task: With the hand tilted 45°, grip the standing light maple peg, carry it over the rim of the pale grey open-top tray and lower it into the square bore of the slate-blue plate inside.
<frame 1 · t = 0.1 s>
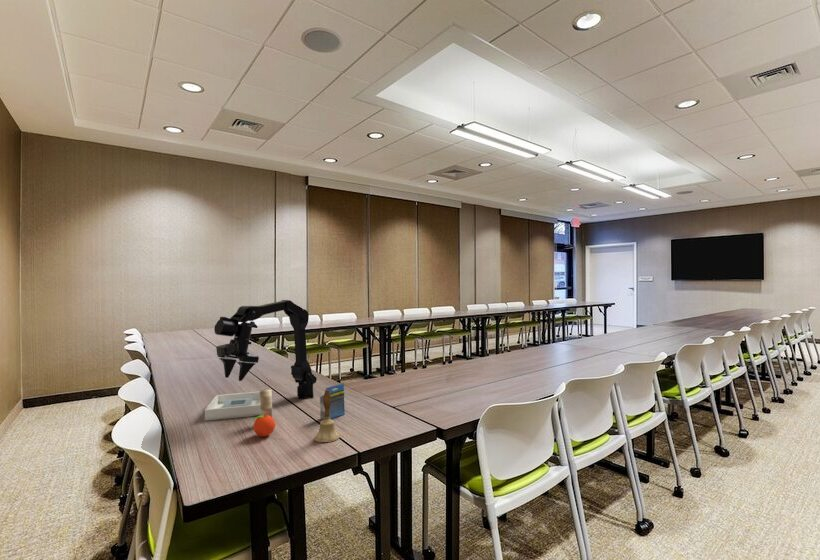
hand: (233, 379, 149), 15 cm above the table, tool pointing down, fingers open, 9 cm apart
label tape cartridge: (332, 417, 151), on the table
tray: (237, 409, 161), on the table
peg: (266, 423, 145), on the table
hand bell: (327, 438, 131), on the table
clementine: (262, 436, 133), on the table
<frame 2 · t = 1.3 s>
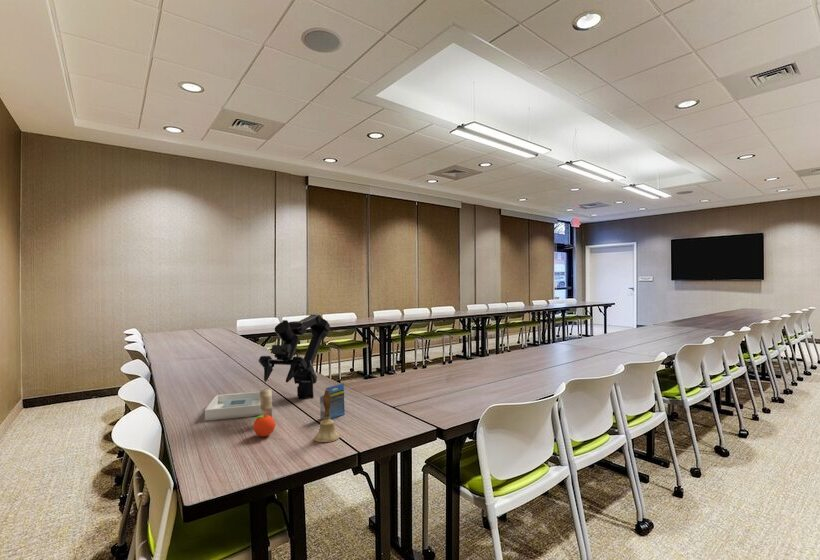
hand: (275, 381, 153), 13 cm above the table, tool tilted 45°, fingers open, 9 cm apart
nothing on the table moved.
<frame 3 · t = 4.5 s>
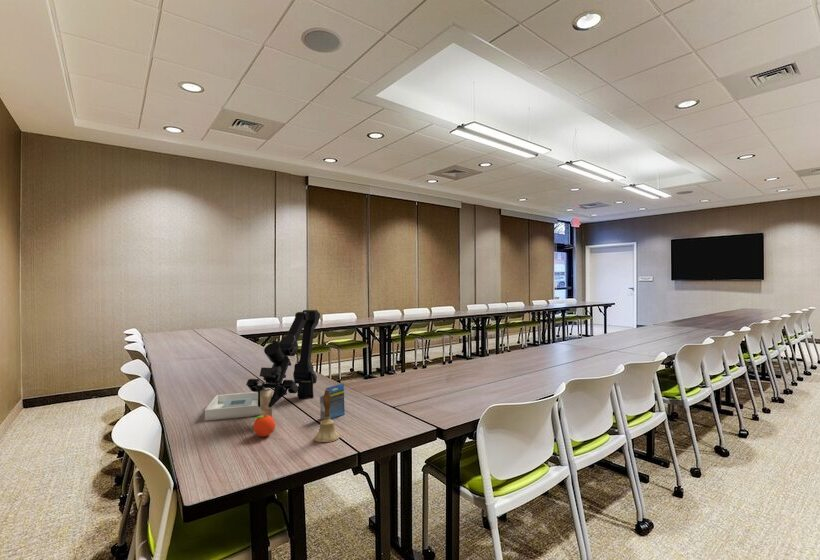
hand: (264, 406, 144), 7 cm above the table, tool tilted 45°, fingers closed on peg, 4 cm apart
peg: (266, 423, 145), on the table, touching gripper
everything else where it was.
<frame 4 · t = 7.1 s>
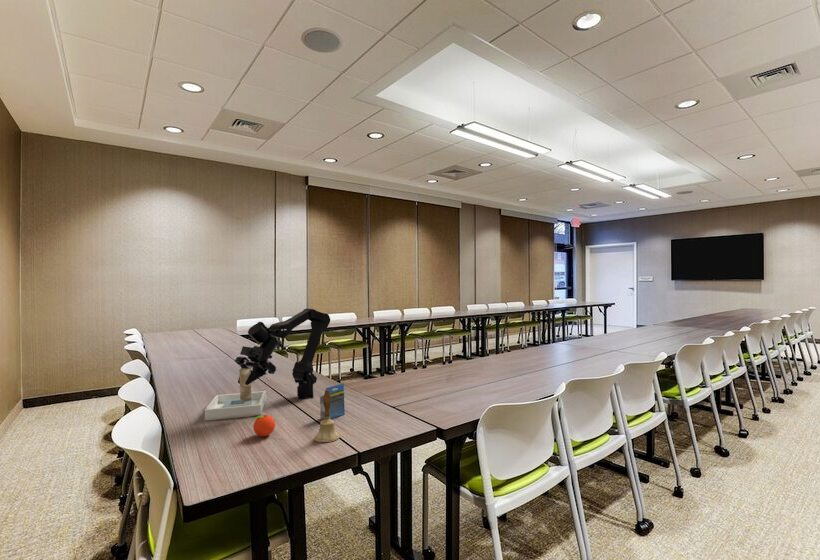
hand: (242, 383, 150), 13 cm above the table, tool tilted 45°, fingers closed on peg, 4 cm apart
peg: (245, 400, 151), point 7 cm above the table, touching gripper
everything else where it was.
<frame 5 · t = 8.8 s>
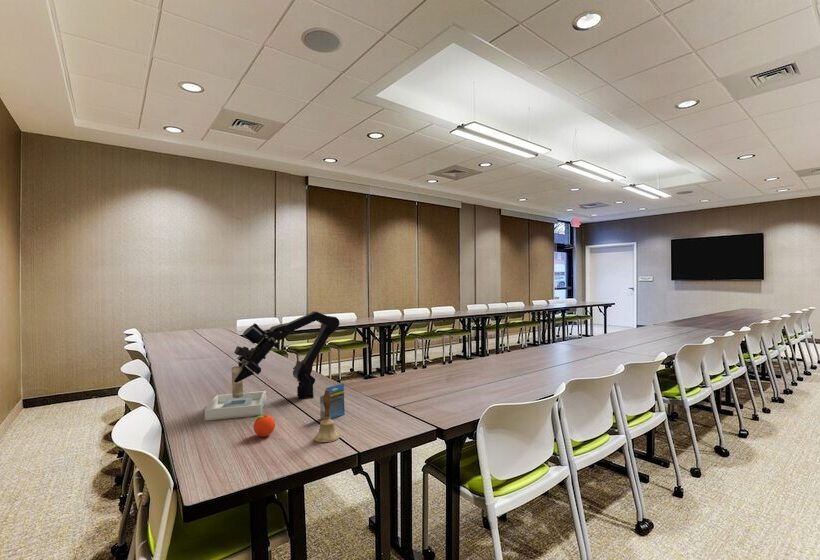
hand: (233, 381, 160), 12 cm above the table, tool tilted 45°, fingers closed on peg, 4 cm apart
peg: (237, 396, 161), point 5 cm above the table, touching gripper
everything else where it was.
when the fingers open (8 cm above the table, at t = 9.9 s): peg stays where it is, resting on tray.
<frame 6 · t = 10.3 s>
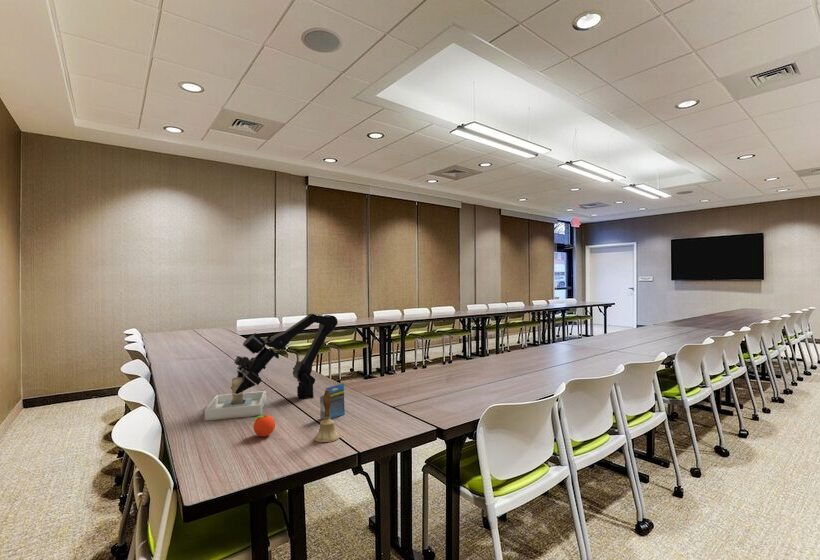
hand: (233, 391, 160), 8 cm above the table, tool tilted 45°, fingers open, 8 cm apart
peg: (237, 407, 161), point 1 cm above the table, touching tray
everything else where it was.
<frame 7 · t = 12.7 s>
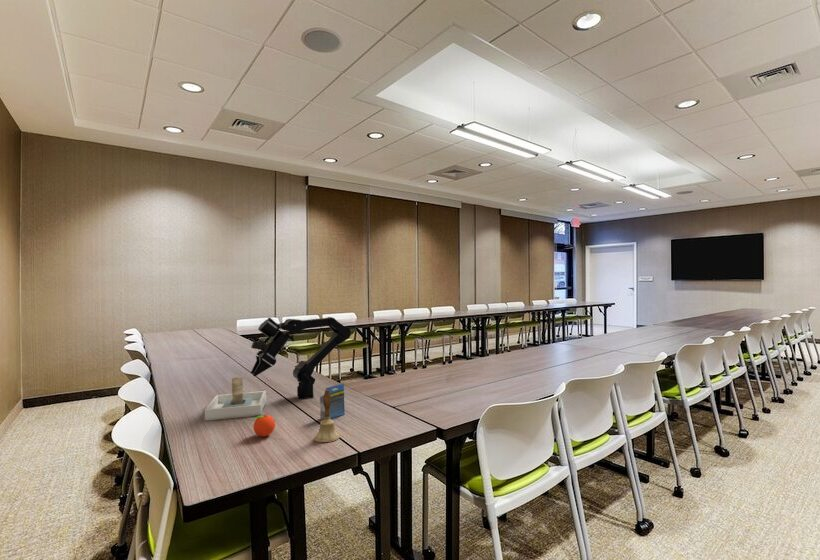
hand: (252, 374, 165), 13 cm above the table, tool tilted 40°, fingers open, 9 cm apart
nothing on the table moved.
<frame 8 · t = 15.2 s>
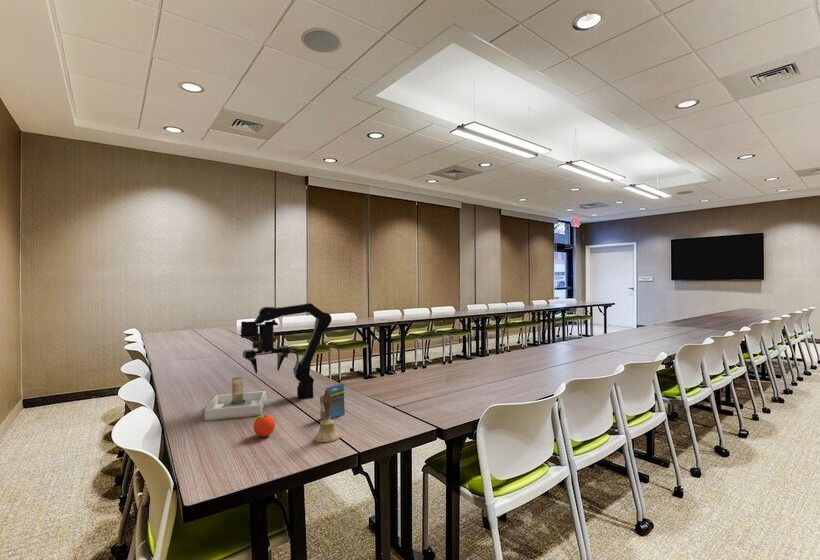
hand: (267, 371, 171), 13 cm above the table, tool pointing down, fingers open, 9 cm apart
nothing on the table moved.
at the end: peg 0.0 cm off-centre on the tray, point 0.8 cm above the tray's base; peg tilted 0°; the gripper is holding nothing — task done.
